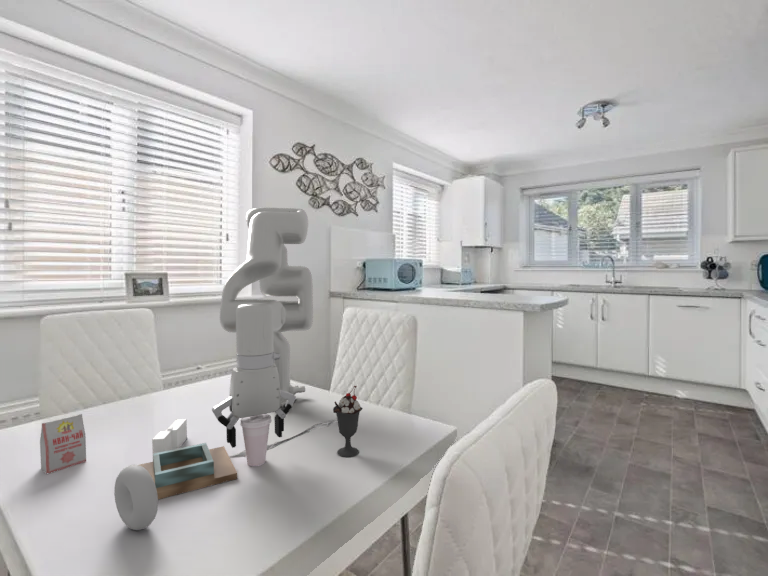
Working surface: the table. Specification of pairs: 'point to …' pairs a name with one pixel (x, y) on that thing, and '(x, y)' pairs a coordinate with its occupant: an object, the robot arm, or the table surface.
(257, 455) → the smoothie
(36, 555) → the table surface
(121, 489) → the donut
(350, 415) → the sundae
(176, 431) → the white stepped block
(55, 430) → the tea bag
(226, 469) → the holder board
